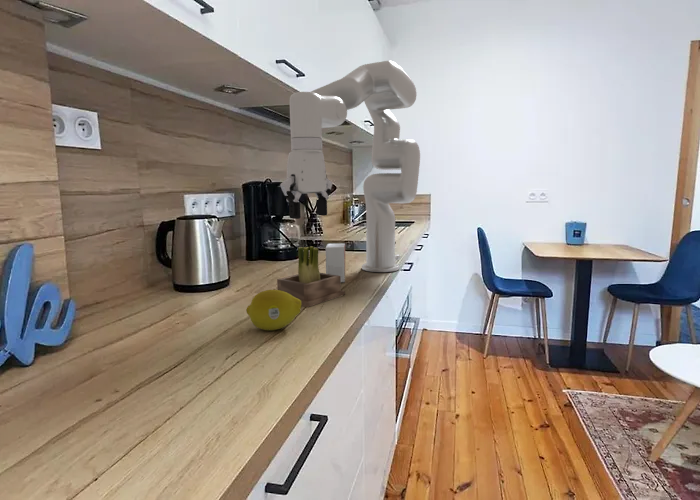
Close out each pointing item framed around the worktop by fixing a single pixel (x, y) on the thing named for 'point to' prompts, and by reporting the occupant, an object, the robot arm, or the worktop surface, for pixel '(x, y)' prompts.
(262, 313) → the lemon
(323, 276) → the open wooden box
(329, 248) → the small box
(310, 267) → the fennel bulb
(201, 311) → the worktop surface
